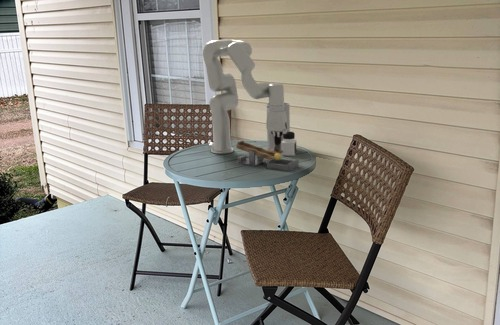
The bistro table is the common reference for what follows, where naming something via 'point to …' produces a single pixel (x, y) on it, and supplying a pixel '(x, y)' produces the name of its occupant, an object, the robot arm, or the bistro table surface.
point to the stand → (250, 159)
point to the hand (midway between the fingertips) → (277, 144)
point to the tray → (283, 164)
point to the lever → (259, 150)
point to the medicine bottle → (288, 144)
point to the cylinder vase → (269, 135)
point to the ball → (277, 156)
